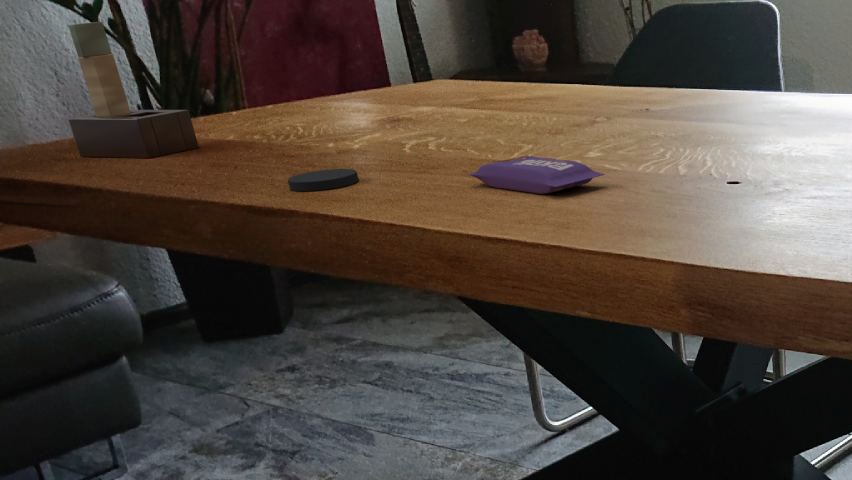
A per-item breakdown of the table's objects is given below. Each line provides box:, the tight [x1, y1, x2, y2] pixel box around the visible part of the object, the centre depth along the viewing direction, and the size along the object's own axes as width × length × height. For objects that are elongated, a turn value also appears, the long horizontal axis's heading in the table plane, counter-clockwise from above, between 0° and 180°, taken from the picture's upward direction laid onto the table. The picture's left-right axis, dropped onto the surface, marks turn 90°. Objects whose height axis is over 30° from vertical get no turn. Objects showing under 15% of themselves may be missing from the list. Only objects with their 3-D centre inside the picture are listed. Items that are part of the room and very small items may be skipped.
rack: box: [67, 109, 200, 159], centre depth 118 cm, size 6×11×4 cm, turn 67°
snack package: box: [467, 155, 606, 195], centre depth 87 cm, size 12×2×5 cm
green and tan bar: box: [68, 21, 131, 117], centre depth 117 cm, size 3×2×13 cm
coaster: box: [287, 168, 359, 192], centre depth 94 cm, size 6×6×1 cm
